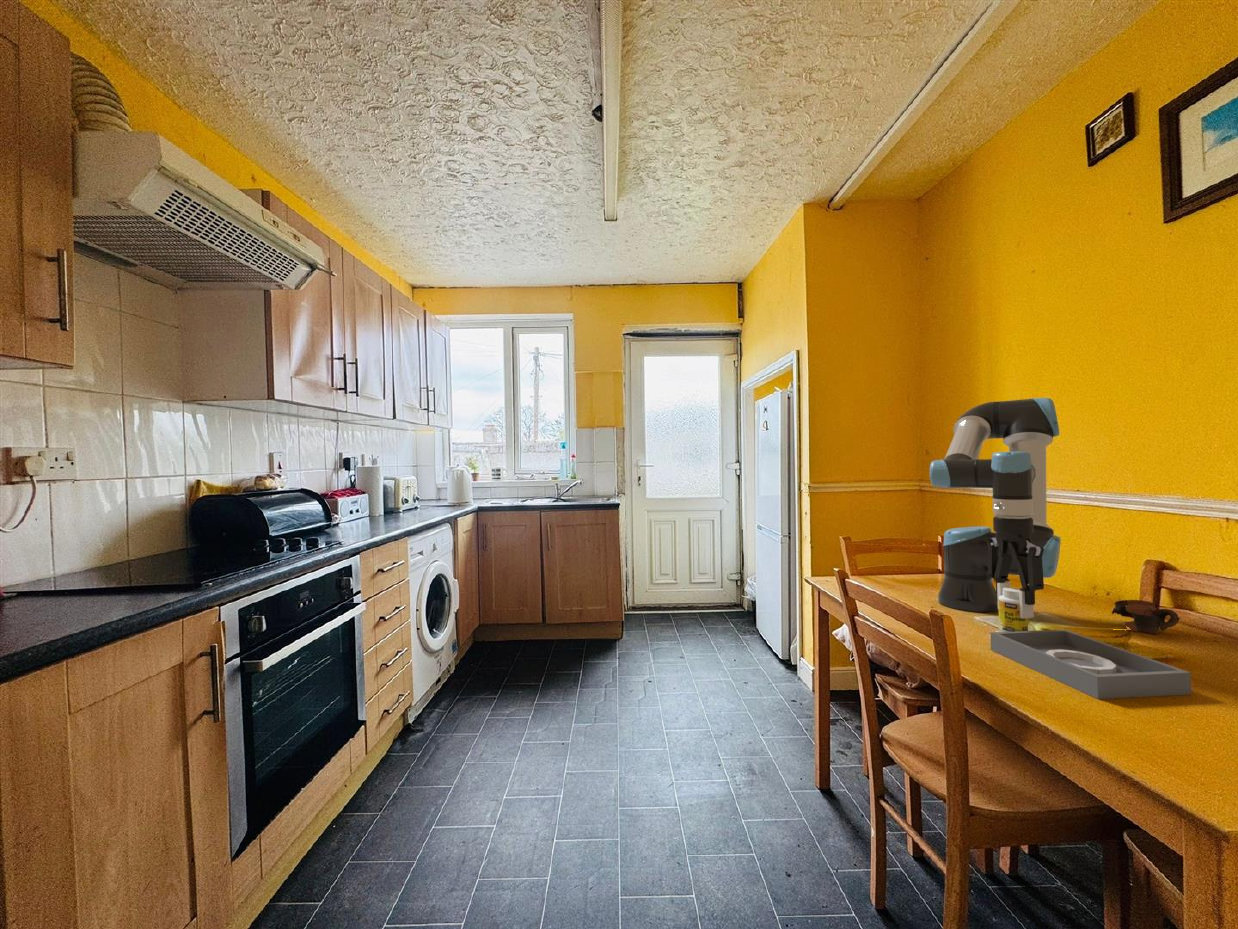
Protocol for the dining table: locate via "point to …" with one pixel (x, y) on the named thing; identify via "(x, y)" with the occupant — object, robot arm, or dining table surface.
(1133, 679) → the grey tray
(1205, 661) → the dining table surface
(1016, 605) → the supplement bottle
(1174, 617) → the pottery mug
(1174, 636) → the dining table surface
